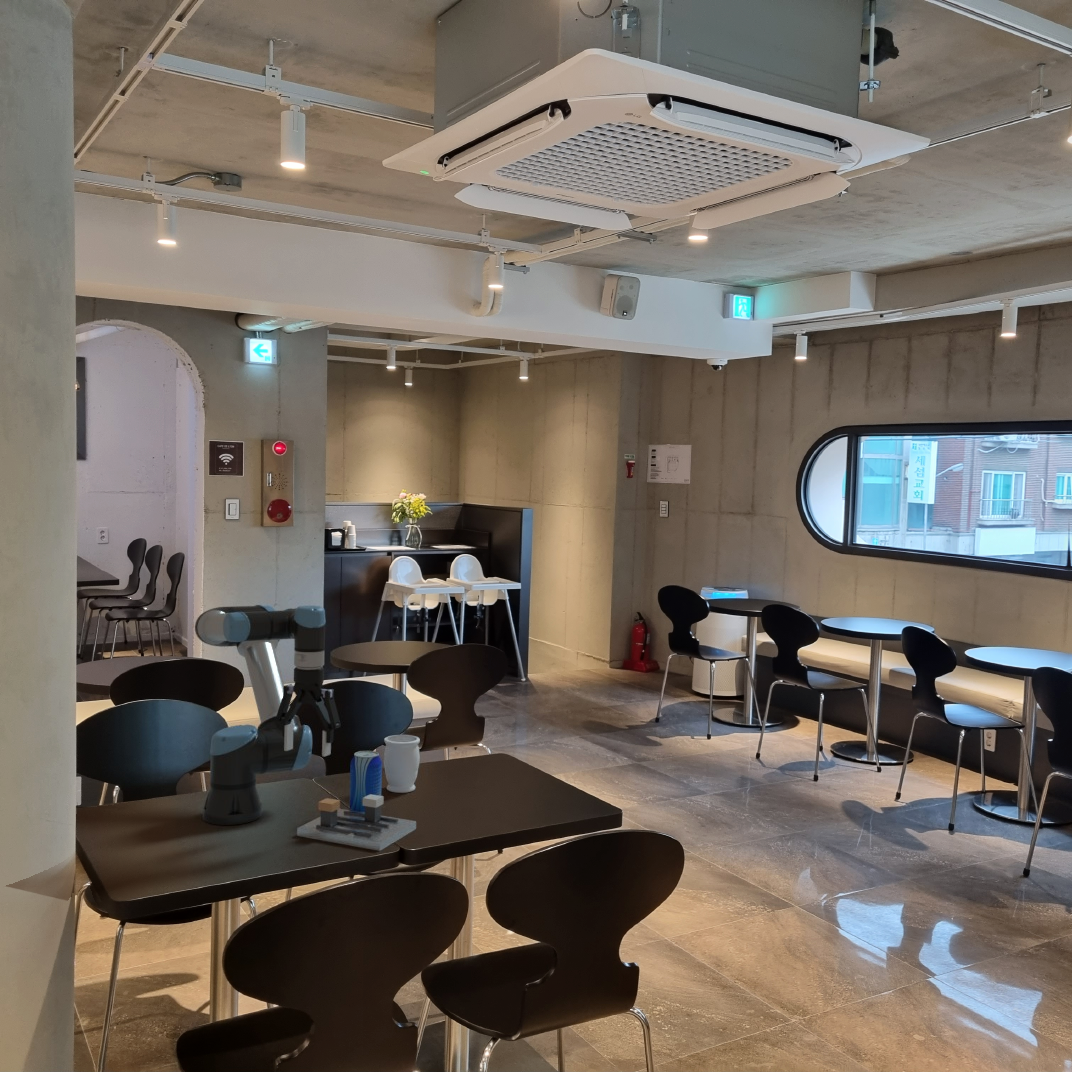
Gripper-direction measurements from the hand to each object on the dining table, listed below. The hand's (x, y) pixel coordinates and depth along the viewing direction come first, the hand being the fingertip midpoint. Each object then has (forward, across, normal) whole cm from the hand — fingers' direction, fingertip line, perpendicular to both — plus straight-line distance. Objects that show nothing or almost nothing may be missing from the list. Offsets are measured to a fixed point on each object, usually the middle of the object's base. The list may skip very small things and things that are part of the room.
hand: (307, 752), depth 257 cm
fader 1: (+18, +7, 0) cm, 19 cm away
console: (+20, +13, +4) cm, 24 cm away
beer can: (+20, +6, +19) cm, 28 cm away
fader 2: (+18, +15, +8) cm, 24 cm away
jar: (+20, +4, +42) cm, 47 cm away
